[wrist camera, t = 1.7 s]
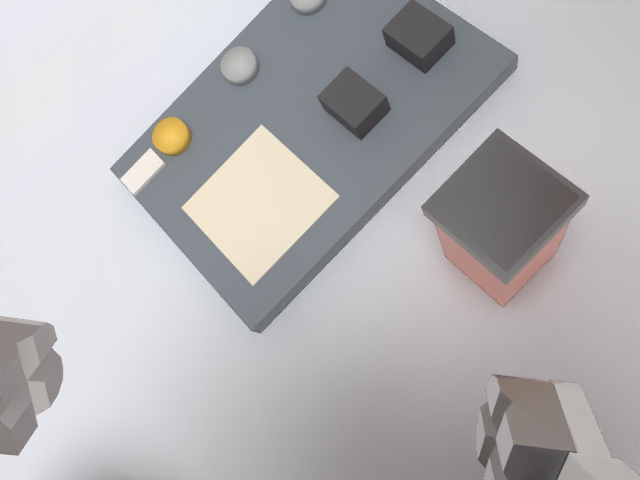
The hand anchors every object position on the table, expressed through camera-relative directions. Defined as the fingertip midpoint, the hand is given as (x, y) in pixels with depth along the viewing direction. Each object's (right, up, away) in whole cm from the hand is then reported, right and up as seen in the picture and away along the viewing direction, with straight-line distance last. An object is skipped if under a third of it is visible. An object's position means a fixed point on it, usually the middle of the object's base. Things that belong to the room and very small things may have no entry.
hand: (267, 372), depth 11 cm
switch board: (0, +11, +30) cm, 32 cm away
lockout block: (+12, +2, +24) cm, 27 cm away
